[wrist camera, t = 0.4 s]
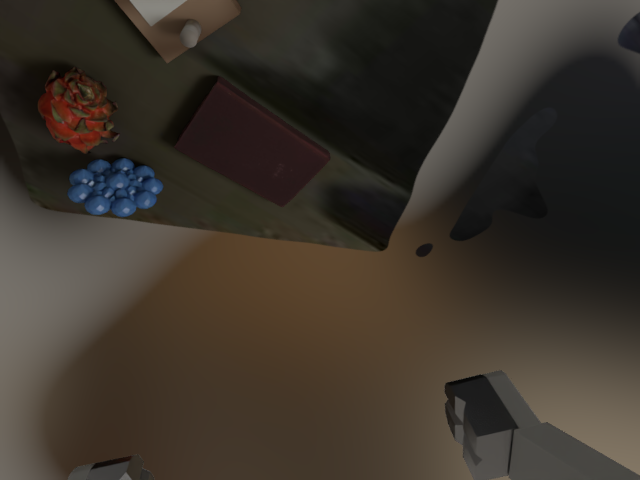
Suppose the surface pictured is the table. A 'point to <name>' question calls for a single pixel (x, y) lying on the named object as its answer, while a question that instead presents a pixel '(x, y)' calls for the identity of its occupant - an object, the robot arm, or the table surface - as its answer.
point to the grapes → (114, 187)
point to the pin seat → (178, 21)
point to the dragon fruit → (77, 110)
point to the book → (250, 145)
